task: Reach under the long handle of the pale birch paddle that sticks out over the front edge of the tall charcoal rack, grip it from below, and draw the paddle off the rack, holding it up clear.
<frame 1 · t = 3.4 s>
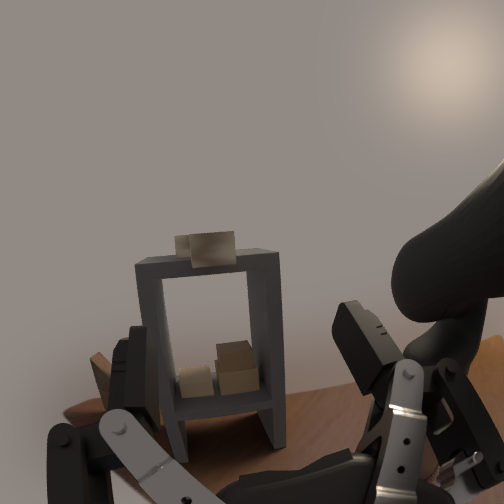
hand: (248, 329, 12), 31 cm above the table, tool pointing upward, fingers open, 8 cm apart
wooden block: (133, 419, 47), on the table
charcoal rack: (226, 436, 43), on the table
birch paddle: (204, 255, 41), point 32 cm above the table, touching charcoal rack
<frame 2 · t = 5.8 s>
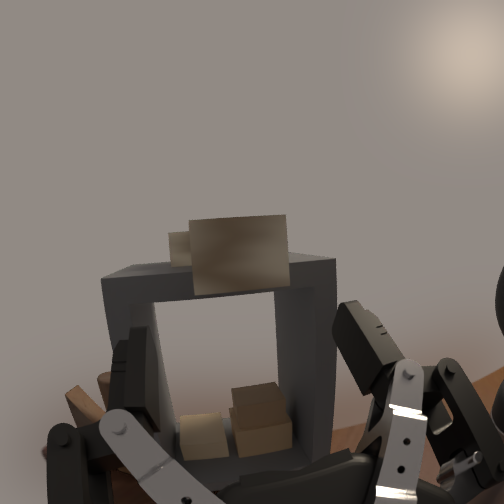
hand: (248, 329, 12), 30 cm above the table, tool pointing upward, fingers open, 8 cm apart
wooden block: (124, 466, 33), on the table
charcoal rack: (243, 495, 28), on the table
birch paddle: (215, 262, 26), point 32 cm above the table, touching charcoal rack
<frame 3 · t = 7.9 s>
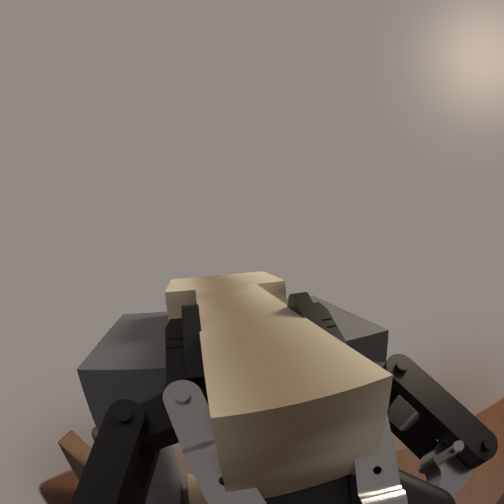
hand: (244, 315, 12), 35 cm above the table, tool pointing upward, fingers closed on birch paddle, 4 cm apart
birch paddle: (228, 326, 20), point 32 cm above the table, touching charcoal rack, gripper
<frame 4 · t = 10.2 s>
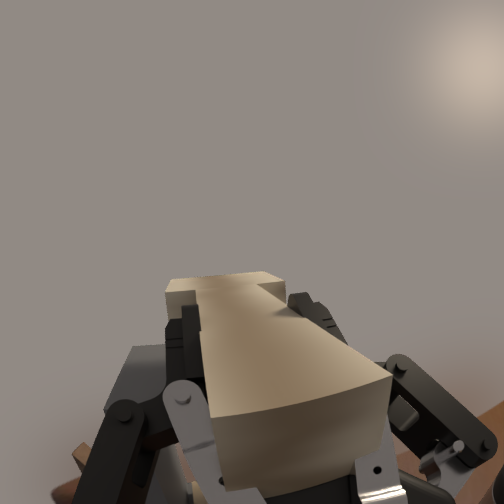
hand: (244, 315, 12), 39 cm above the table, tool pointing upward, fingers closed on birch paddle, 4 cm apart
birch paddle: (228, 326, 20), point 36 cm above the table, touching gripper
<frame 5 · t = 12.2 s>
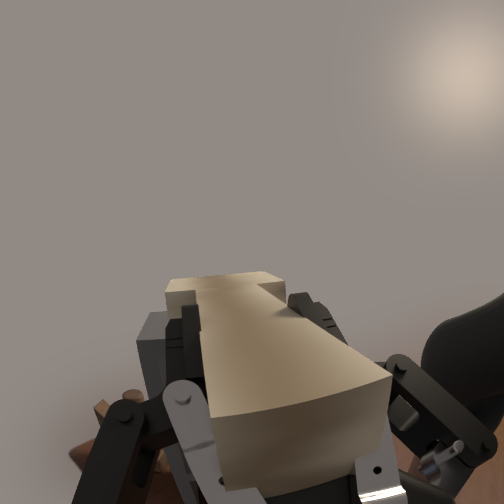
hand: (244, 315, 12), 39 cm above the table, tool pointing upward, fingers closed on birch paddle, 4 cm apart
wooden block: (141, 463, 42), on the table
charcoal rack: (237, 484, 38), on the table
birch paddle: (228, 326, 20), point 36 cm above the table, touching gripper
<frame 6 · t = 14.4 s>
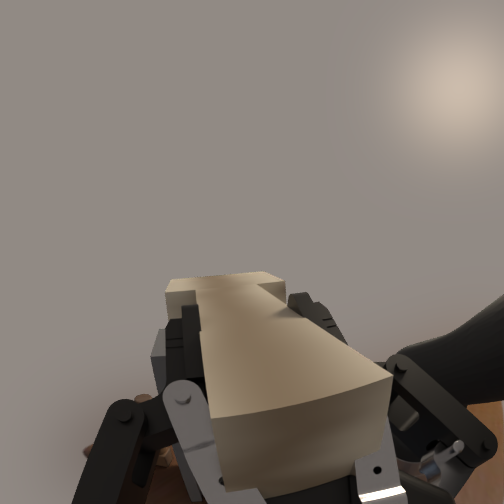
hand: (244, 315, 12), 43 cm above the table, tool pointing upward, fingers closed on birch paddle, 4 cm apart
wooden block: (149, 459, 48), on the table
charcoal rack: (234, 476, 44), on the table
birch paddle: (228, 326, 20), point 40 cm above the table, touching gripper
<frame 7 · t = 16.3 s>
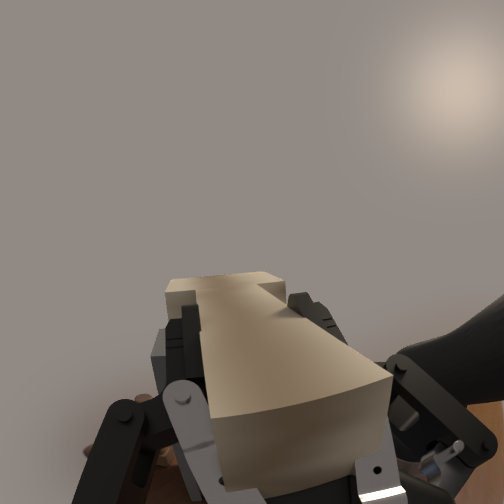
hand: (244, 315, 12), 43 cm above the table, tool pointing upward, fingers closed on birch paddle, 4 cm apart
wooden block: (149, 459, 48), on the table
charcoal rack: (234, 476, 44), on the table
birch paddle: (228, 326, 20), point 40 cm above the table, touching gripper
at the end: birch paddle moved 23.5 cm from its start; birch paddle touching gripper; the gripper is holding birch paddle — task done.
